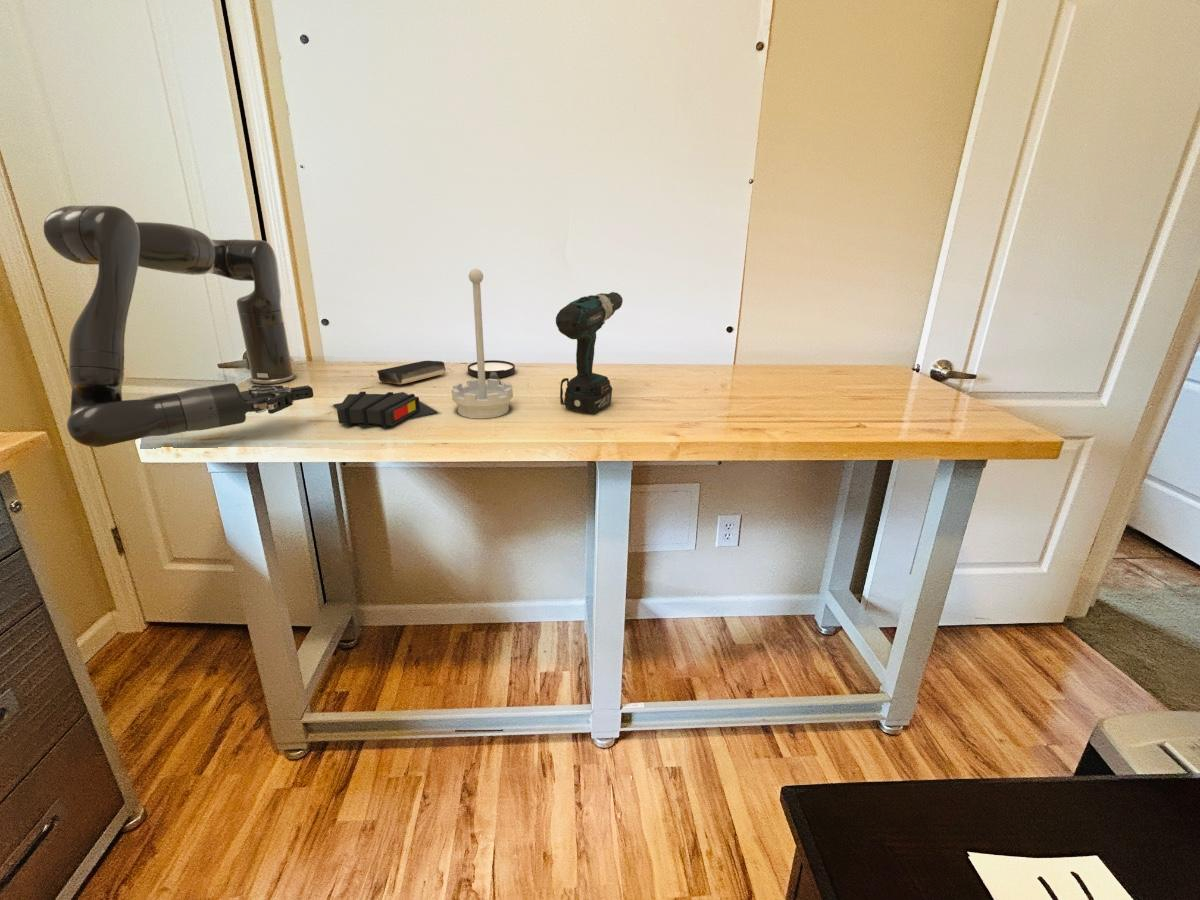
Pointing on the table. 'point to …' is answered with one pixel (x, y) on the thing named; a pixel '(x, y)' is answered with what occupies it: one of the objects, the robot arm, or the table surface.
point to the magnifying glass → (493, 369)
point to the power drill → (586, 350)
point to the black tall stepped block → (377, 408)
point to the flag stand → (481, 374)
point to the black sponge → (411, 372)
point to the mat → (422, 412)
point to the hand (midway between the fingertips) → (311, 391)
